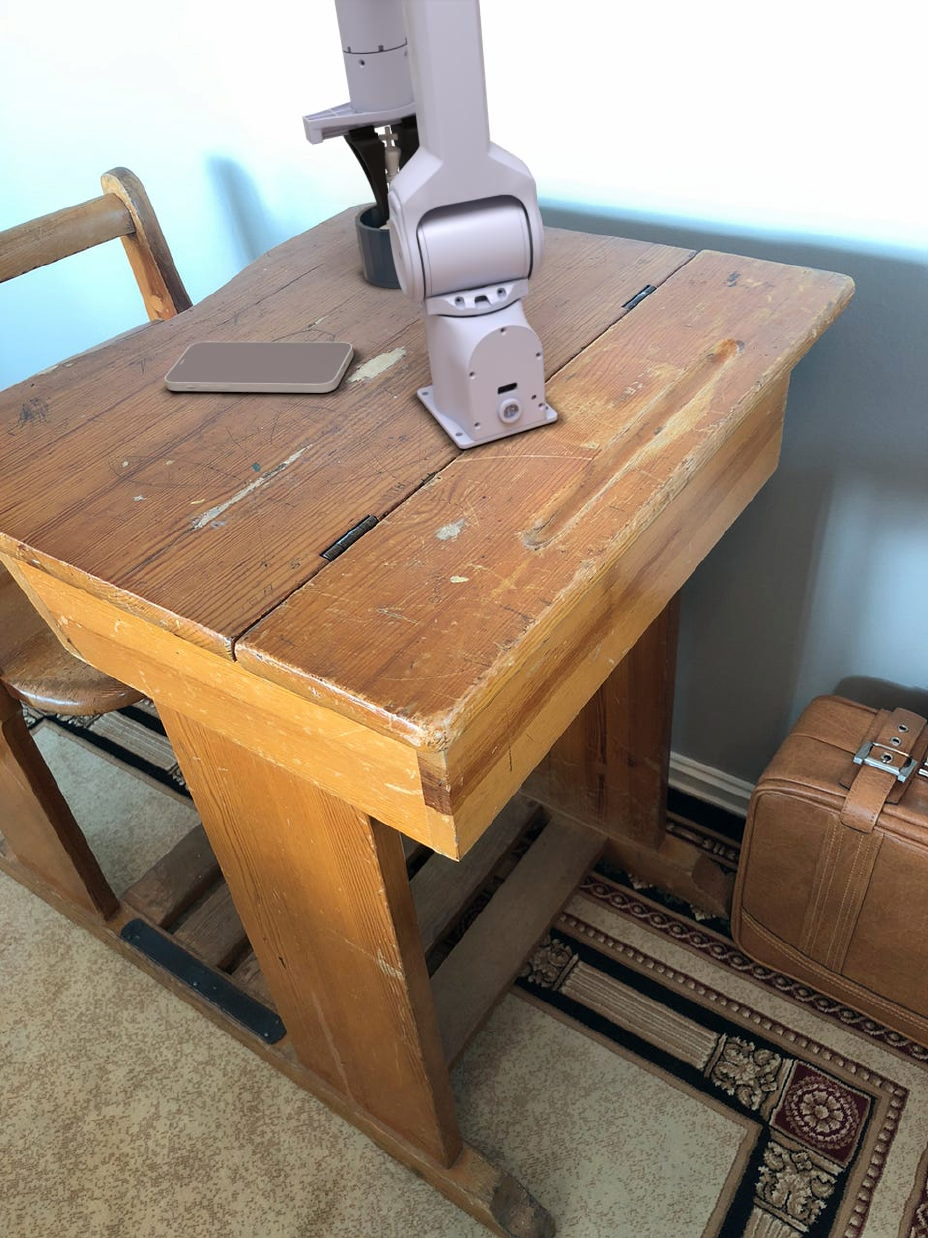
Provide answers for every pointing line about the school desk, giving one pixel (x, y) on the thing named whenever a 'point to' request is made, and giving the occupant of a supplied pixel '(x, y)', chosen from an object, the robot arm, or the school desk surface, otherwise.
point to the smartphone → (261, 367)
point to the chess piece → (390, 159)
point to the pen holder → (376, 248)
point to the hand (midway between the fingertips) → (397, 207)
